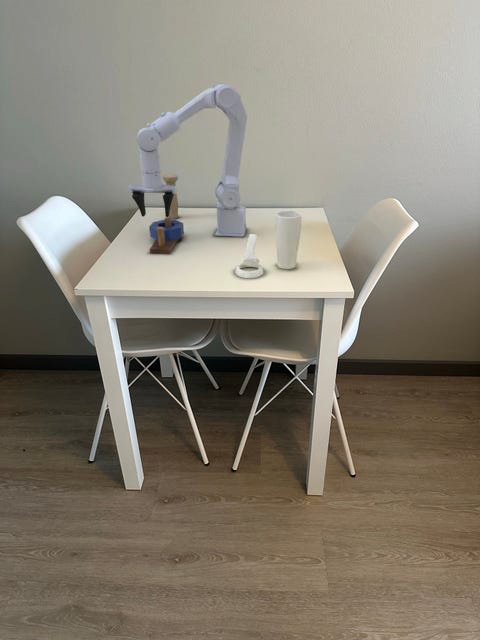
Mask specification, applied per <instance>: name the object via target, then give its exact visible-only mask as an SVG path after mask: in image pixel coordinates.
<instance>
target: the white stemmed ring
mask: <svg viewBox="0 0 480 640" xmlns="http://www.w3.org/2000/svg"><path fill="white" fill-rule="evenodd" d="M258 237H259V236H258V235H257V234H256V233H255V234H254V233H250V234H249V235H248V239H247V244H246V248H245V253H244V257H243V260H242V261H243V262H242V263H239V264H238V265H237V266H236V268H235V271H234V272H235V275H236V276H237V277H240V278H244V279H256V278H259V277H262V275H264V269H263V267H262V266H261V265H260V259H259V257H258V256H255V251H256V247H257V242H258ZM244 268H254V269H256V270H243V269H244Z"/></svg>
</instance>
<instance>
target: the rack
mask: <svg viewBox="0 0 480 640" xmlns="http://www.w3.org/2000/svg"><path fill="white" fill-rule="evenodd" d="M164 220H165V228H168V227H172V225H171V220H172V218H170V217H169V216H168V217H164ZM157 234H158V240H155V241H154V242H153V243H152V245H151V246H150V248H149V254H160V255H170V254H171V253H172V251H173V250H174V248H175V246H176V245H177V243H178V242H179V240H180V239H181V238H178V239H175V240H171V241H165V237H164V228H163V227H157Z"/></svg>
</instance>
